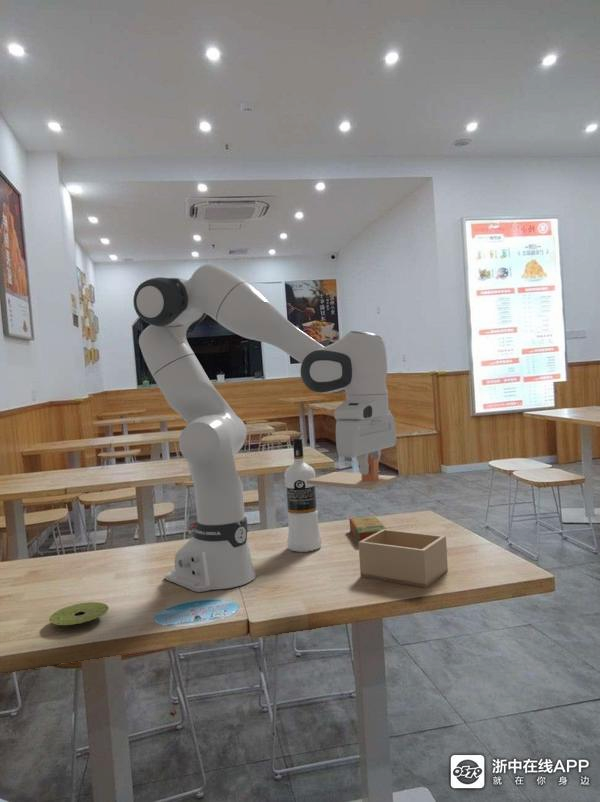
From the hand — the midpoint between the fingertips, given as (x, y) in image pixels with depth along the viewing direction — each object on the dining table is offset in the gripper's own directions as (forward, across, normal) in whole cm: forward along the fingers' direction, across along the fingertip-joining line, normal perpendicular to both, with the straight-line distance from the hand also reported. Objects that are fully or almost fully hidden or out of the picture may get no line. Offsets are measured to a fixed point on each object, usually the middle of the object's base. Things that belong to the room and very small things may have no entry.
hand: (369, 472), depth 125 cm
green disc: (+27, +41, -45) cm, 66 cm away
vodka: (+26, -19, -31) cm, 45 cm away
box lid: (+2, 0, -4) cm, 5 cm away
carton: (+26, -35, -20) cm, 47 cm away
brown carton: (+25, -11, +2) cm, 27 cm away
